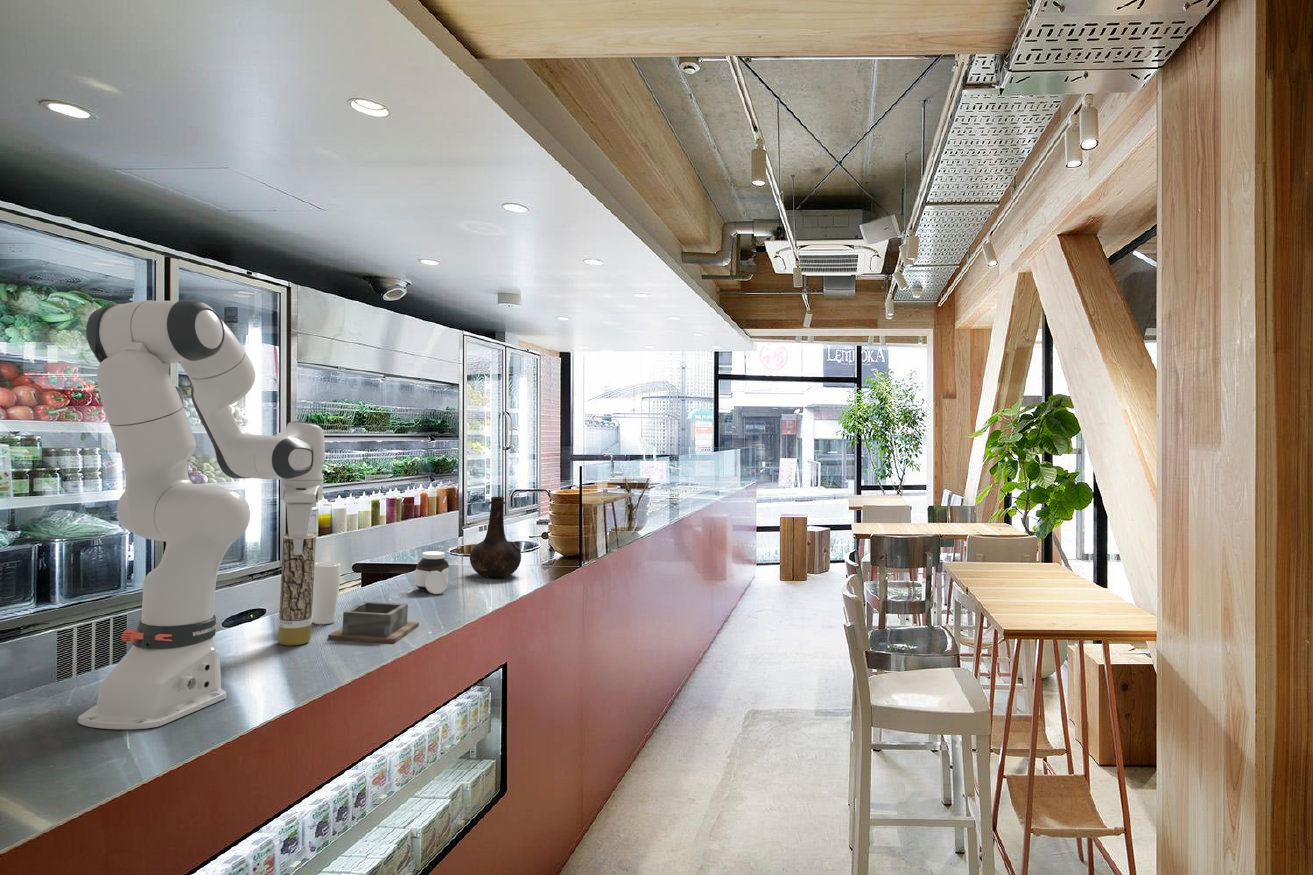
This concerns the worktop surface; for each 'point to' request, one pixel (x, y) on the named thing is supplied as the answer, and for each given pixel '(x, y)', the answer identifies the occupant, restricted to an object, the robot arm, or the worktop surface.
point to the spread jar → (432, 572)
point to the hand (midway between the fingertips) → (298, 551)
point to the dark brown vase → (495, 547)
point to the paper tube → (296, 592)
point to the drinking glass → (325, 592)
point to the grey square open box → (375, 623)
